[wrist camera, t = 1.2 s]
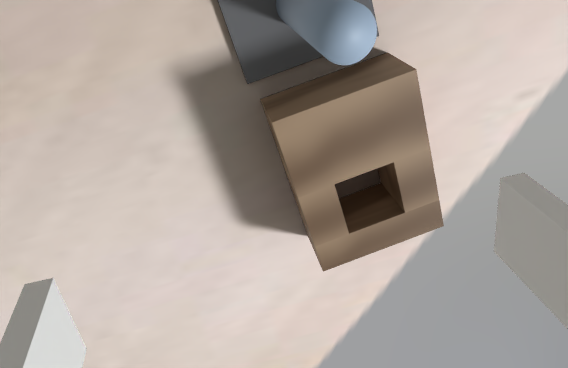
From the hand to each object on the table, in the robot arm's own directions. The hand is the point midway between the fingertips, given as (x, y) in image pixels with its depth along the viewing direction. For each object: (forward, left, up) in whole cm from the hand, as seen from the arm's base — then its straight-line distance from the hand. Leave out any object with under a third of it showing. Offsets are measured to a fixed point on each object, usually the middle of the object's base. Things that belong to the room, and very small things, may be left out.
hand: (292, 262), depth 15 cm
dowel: (-6, +3, -23) cm, 24 cm away
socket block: (+2, +12, -23) cm, 26 cm away
